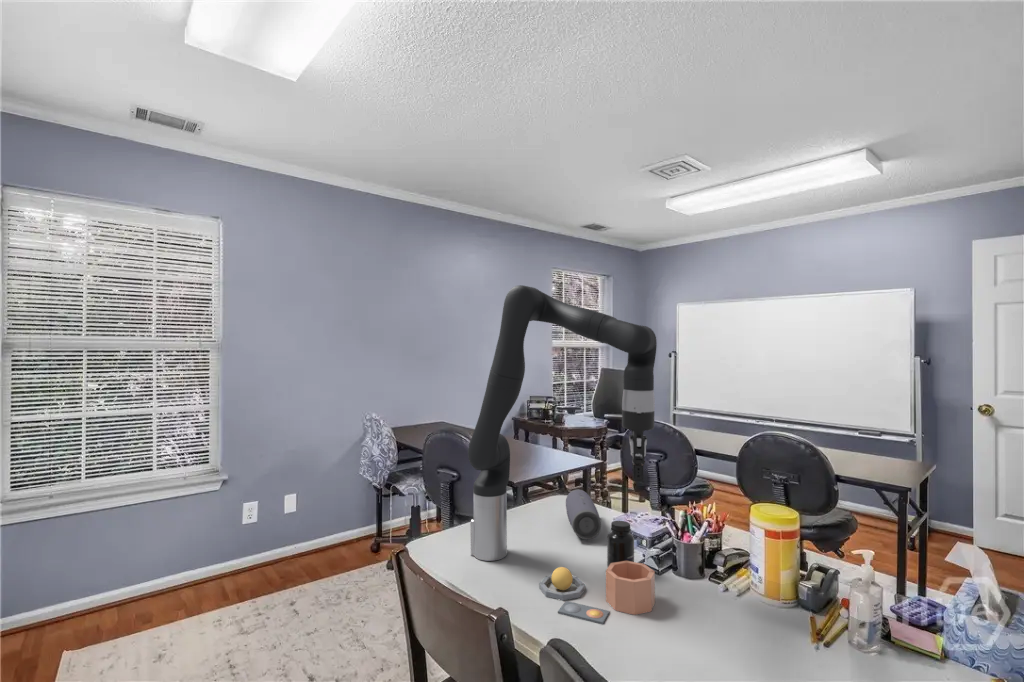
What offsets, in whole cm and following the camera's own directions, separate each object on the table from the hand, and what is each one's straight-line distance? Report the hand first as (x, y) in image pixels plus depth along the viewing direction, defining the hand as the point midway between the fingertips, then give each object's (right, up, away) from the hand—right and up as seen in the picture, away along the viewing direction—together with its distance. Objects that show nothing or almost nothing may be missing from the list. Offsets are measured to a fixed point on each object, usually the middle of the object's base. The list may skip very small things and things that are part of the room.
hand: (637, 476), depth 121 cm
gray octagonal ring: (-18, -27, -1) cm, 32 cm away
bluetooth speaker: (-8, -27, +37) cm, 47 cm away
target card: (-15, -27, -12) cm, 32 cm away
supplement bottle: (-2, -27, +9) cm, 28 cm away
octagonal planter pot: (-3, -26, -7) cm, 28 cm away
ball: (-18, -24, -1) cm, 30 cm away
